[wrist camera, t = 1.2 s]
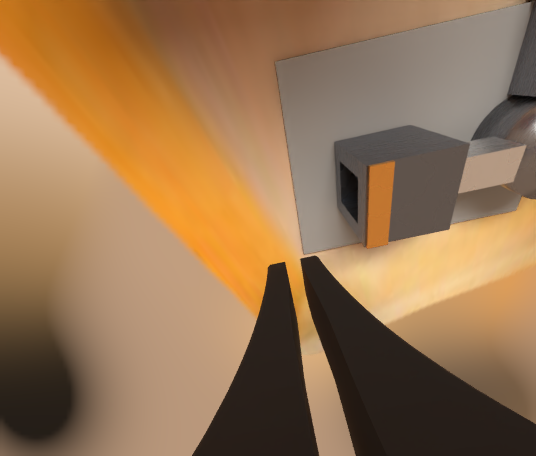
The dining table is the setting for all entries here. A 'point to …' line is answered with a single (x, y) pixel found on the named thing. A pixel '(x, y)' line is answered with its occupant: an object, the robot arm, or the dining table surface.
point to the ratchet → (508, 132)
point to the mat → (395, 106)
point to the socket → (398, 183)
